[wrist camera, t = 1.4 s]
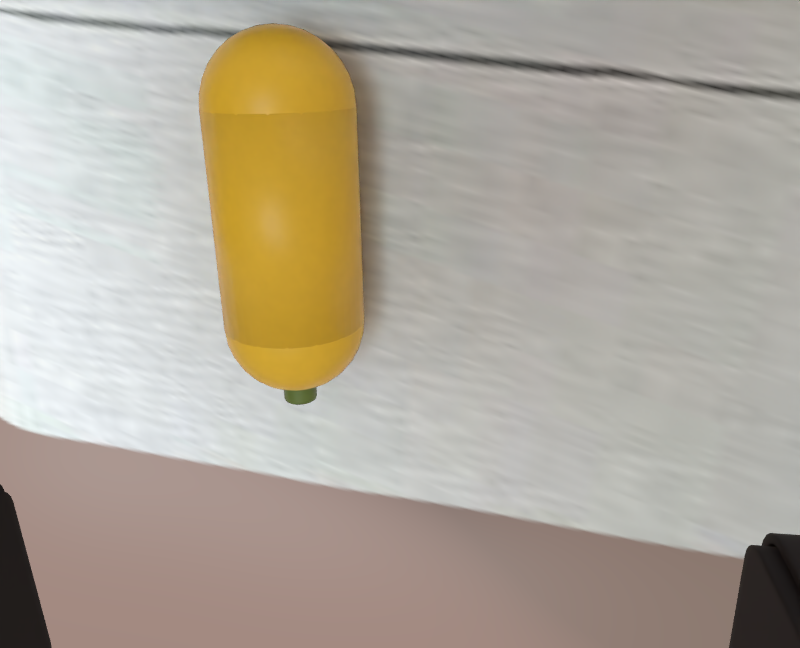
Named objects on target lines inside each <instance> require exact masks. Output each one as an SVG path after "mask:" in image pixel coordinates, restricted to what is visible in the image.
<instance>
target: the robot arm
mask: <svg viewBox="0 0 800 648" xmlns="http://www.w3.org/2000/svg"><path fill="white" fill-rule="evenodd" d="M0 648H51V642H50V638H49V634H48V631H47V627H46V623H45V620H44V615H43V612H42V608H41V604H40V600H39V597H38V593H37V589H36V585H35V582H34V578H33V574H32V571H31V567H30V563H29V559H28V556H27V552H26V548H25V545H24V541H23V537H22V533H21V529H20V526H19V522H18V518H17V515H16V511H15V507H14V503H13V500H12V498H11V496H10V495H9V494H8V493H6V492H4V489H3V487H2V486H1V485H0ZM729 648H800V535H790V534H775V533H770V534H767V535H766V537H765V538H764V540H763V543H762V546H758V545H750V546H749V547H748V548H747V550H746V553H745V558H744V564H743V570H742V575H741V581H740V587H739V593H738V599H737V605H736V610H735V616H734V622H733V628H732V634H731V640H730V645H729Z"/></svg>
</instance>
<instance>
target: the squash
mask: <svg viewBox="0 0 800 648" xmlns="http://www.w3.org/2000/svg"><path fill="white" fill-rule="evenodd" d="M199 113H200V122H201V130H202V139H203V148H204V156H205V165H206V174H207V182H208V191H209V200H210V208H211V217H212V225H213V234H214V243H215V251H216V260H217V269H218V277H219V286H220V295H221V303H222V312H223V321H224V329H225V333H226V337H227V342H228V345H229V348H230V350H231V352H232V354H233V356H234V358H235V359H236V360H237V362H238V363H239V364H240V365H241V367H242V368H243V369H244V370H245V371H246V372H247V373H248V374H250V375H251V376H252V377H253V378H255V379H256V380H258V381H259V382H261V383H264V384H266V385H268V386H270V387H273V388H277V389H282V390H284V395H285V400H286V401H287V402H288V403H291V404H296V405H300V404H307V403H310V402H312V401H314V400H315V399H316V396H317V390H316V387H318V386H321V385H323V384H325V383H327V382H329V381H330V380H332V379H333V378H335V377H336V376H338V375H339V374H340V373H342V371H343V370H344V369H345V368H346V367H347V366H348V365H349V363H350V362H351V361H352V360H353V358H354V356H355V354H356V353H357V351H358V349H359V345H360V342H361V339H362V335H363V330H364V300H363V273H362V246H361V218H360V191H359V163H358V136H357V109H356V99H355V91H354V88H353V85H352V82H351V79H350V76H349V73H348V72H347V70H346V68H345V66H344V64H343V63H342V61H341V59H340V58H339V57H338V56H337V55H336V53H335V52H334V51H333V50H332V49H331V47H329V46H328V45H327V44H326V43H325V42H323V41H322V40H321V39H320V38H318V37H317V36H315V35H313V34H311V33H309V32H308V31H306V30H304V29H300V28H297V27H294V26H291V25H285V24H274V23H272V24H262V25H256V26H253V27H250V28H247V29H244V30H242V31H240V32H238V33H237V34H235V35H233V36H232V37H230V38H228V39H227V40H226V41H225V42H224V43H223V44H222V45H221V46H220V47H219V48H218V49H217V50H216V51H215V53H214V54H213V56H212V57H211V59H210V60H209V62H208V64H207V66H206V69H205V71H204V74H203V76H202V79H201V85H200V90H199Z"/></svg>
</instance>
